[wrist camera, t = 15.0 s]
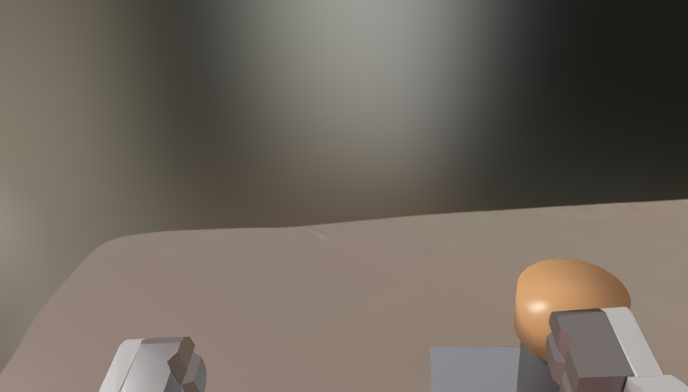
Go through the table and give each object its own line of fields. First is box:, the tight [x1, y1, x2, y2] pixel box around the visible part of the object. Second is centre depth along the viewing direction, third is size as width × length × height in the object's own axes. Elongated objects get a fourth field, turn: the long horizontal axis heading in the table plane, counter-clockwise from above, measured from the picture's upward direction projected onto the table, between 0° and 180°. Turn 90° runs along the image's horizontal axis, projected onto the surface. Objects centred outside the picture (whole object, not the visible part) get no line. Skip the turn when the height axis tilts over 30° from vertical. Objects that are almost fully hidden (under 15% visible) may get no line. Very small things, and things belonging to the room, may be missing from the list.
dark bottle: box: [514, 259, 631, 392], centre depth 27 cm, size 5×5×14 cm
